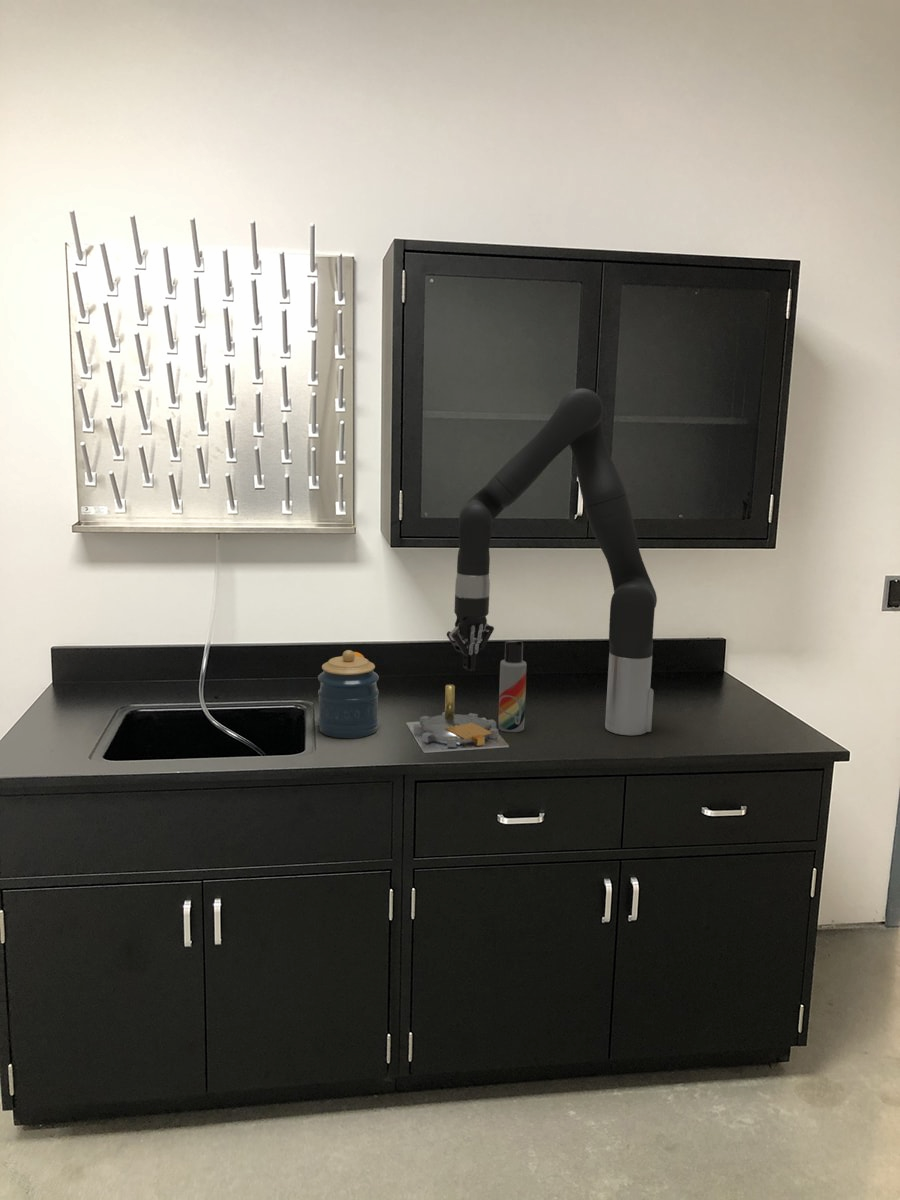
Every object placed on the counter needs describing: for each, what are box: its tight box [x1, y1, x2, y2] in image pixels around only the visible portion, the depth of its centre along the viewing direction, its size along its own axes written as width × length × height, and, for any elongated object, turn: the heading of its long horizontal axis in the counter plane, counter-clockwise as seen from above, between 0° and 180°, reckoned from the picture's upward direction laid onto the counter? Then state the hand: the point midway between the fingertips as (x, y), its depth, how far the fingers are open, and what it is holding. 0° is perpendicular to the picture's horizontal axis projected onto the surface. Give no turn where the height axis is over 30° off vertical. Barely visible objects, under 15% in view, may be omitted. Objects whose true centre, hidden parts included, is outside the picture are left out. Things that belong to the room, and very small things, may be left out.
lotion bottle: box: [497, 639, 527, 733], centre depth 204 cm, size 6×6×20 cm
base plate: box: [406, 717, 510, 754], centre depth 201 cm, size 18×18×1 cm
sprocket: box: [413, 684, 500, 747], centre depth 200 cm, size 18×18×8 cm
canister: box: [317, 649, 380, 739], centre depth 201 cm, size 13×13×18 cm
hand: (469, 669), depth 208 cm, fingers closed
